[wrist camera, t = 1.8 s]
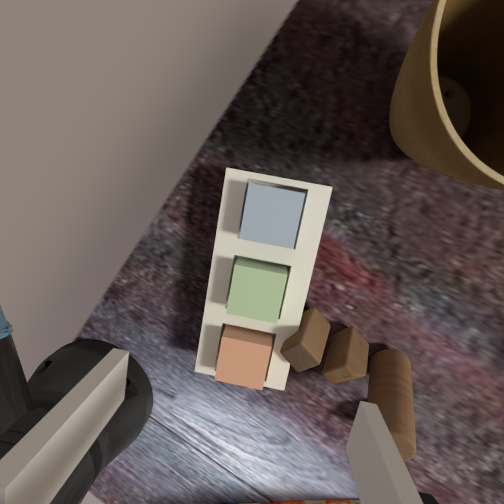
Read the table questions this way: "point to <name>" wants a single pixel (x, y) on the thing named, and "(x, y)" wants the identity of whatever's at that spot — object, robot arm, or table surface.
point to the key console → (294, 259)
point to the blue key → (271, 215)
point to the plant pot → (454, 92)
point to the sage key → (257, 289)
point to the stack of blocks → (313, 502)
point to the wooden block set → (359, 372)
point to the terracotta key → (244, 356)
